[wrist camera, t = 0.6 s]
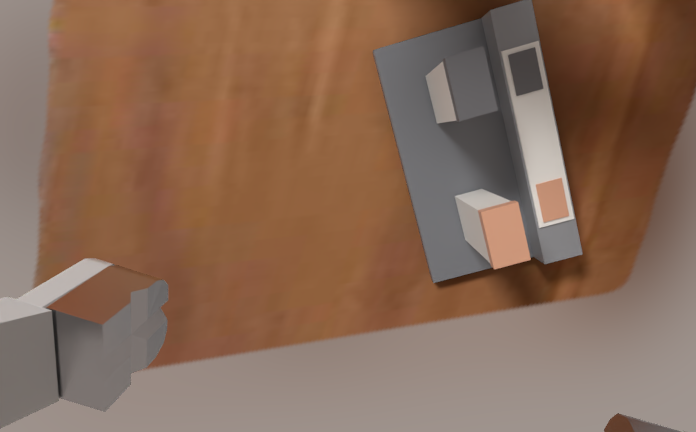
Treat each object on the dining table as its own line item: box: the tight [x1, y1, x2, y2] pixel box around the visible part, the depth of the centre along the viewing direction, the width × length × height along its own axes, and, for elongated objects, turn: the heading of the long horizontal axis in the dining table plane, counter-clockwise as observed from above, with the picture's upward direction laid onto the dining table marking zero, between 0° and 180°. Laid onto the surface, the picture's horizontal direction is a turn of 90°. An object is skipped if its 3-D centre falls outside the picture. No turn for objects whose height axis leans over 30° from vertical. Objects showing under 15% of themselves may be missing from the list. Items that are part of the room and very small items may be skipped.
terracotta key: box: [455, 189, 531, 269], centre depth 44 cm, size 3×5×11 cm, turn 16°
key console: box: [373, 0, 583, 283], centre depth 48 cm, size 26×16×5 cm, turn 16°
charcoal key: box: [425, 46, 498, 123], centre depth 42 cm, size 3×5×11 cm, turn 16°
